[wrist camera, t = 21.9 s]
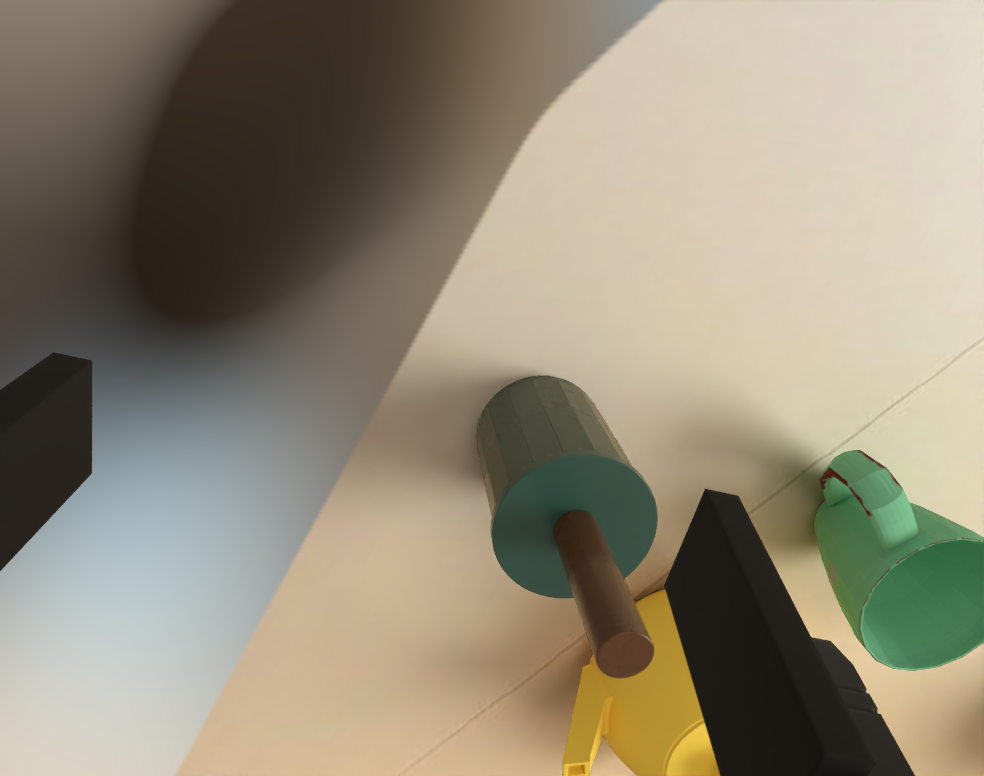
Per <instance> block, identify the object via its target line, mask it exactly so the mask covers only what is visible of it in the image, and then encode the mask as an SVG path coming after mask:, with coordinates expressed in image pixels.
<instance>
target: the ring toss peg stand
mask: <svg viewBox="0 0 984 776" xmlns="http://www.w3.org/2000/svg"><path fill="white" fill-rule="evenodd" d="M657 518H658V516H657V507H656V502H655V499H654V496H653V494H652V491H651V490H650V488H649V486H648V485H647V483H646V481H645V480H644V478H643V477H642V476H641V475H640V473H639V472H638V471H637V470H636V469H635V468H633V467H632V466H631V465H630V464H628V463H627V462H625V461H624V460H622V459H620V458H618V457H616V456H614V455H611V454H608V453H604V452H600V451H594V450H569V451H564V452H559V453H556V454H552V455H549V456H547V457H544V458H542V459H540V460H538V461H536V462H534V463H532V464H531V465H529V466H527V467H526V468H525V469H524V470H522V471H521V472H520V473H518V474H517V475H516V476H515V477H514V478H513V479H512V480H511V481H510V482H509V484H508V485H507V486H506V488H505V489H504V490H503V492H502V494H501V495H500V497H499V499H498V501H497V503H496V506H495V508H494V512H493V515H492V521H491V538H492V543H493V548H494V552H495V555H496V558H497V560H498V562H499V564H500V565H501V567H502V569H503V570H504V571H505V572H506V574H507V575H508V576H509V577H510V578H511V579H512V580H513V581H515V582H516V583H517V584H519V585H520V586H521V587H523V588H525V589H527V590H529V591H531V592H534V593H536V594H539V595H543V596H547V597H554V598H574V599H575V602H576V605H577V608H578V611H579V614H580V617H581V620H582V623H583V625H584V628H585V631H586V634H587V637H588V640H589V643H590V646H591V649H592V652H593V655H594V658H595V661H596V664H597V666H598V668H599V669H600V670H601V671H602V672H603V673H604V674H605V675H607V676H610V677H613V678H628V677H632V676H635V675H637V674H639V673H640V672H642V671H643V670H645V669H646V668H647V667H648V666H649V664H650V663H651V661H652V659H653V656H654V645H653V642H652V640H651V638H650V636H649V633H648V631H647V629H646V627H645V625H644V622H643V620H642V618H641V616H640V614H639V611H638V609H637V607H636V605H635V602H634V600H633V598H632V596H631V594H630V591H629V589H628V587H627V585H626V583H625V580H624V578H625V577H627V576H628V575H629V574H630V573H631V572H632V571H634V570H635V569H636V567H637V566H638V565H639V564H640V563H641V562H642V560H643V559H644V557H645V556H646V555H647V553H648V551H649V549H650V547H651V545H652V543H653V540H654V537H655V533H656V529H657Z"/></svg>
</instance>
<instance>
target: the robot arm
mask: <svg viewBox="0 0 984 776" xmlns="http://www.w3.org/2000/svg"><path fill="white" fill-rule="evenodd" d="M91 474H92V361H91V360H86V359H82V358H77V357H72V356H67V355H63V354H58V353H52V354H51V355H49V356H48V357H46V358H45V359H43V360H42V361H41V362H39V363H38V364H36V365H35V366H34V367H32V368H31V369H29V370H28V371H27V372H25V373H24V374H22V375H21V376H19V377H18V378H17V379H15V380H14V381H12V382H11V383H10V384H8V385H7V386H5V387H4V388H2V389H1V390H0V571H1V570H2V569H3V568H4V567H5V565H6V564H7V563H8V562H9V561H10V560H11V559H12V558H13V557H14V556H15V555H16V554H17V553H18V552H19V550H21V548H22V547H23V546H24V545H25V544H26V543H27V542H28V541H29V540H30V539H31V538H32V537H33V536H34V535H35V533H36V532H37V531H38V530H39V529H40V528H41V527H42V526H43V525H44V524H45V523H46V522H47V521H48V520H49V519H50V517H51V516H52V515H53V514H54V513H55V512H56V511H57V510H58V509H59V508H60V507H61V506H62V505H63V504H64V503H65V501H66V500H67V499H68V498H69V497H70V496H71V495H72V494H73V493H74V492H75V491H76V490H77V489H78V488H79V487H80V485H81V484H82V483H83V482H84V481H85V480H86V479H87V478H88V477H89V476H90V475H91ZM664 587H665V590H666V593H667V597H668V600H669V604H670V607H671V610H672V614H673V617H674V621H675V624H676V627H677V631H678V634H679V637H680V641H681V644H682V648H683V651H684V654H685V658H686V661H687V665H688V668H689V671H690V675H691V678H692V681H693V685H694V688H695V692H696V695H697V698H698V702H699V705H700V709H701V712H702V715H703V719H704V722H705V725H706V729H707V732H708V736H709V739H710V742H711V746H712V749H713V753H714V756H715V759H716V763H717V766H718V769H719V773H720V776H915V775H914V773H913V771H912V770H911V768H910V766H909V764H908V762H907V761H906V759H905V757H904V755H903V753H902V752H901V750H900V748H899V746H898V745H897V743H896V741H895V739H894V737H893V736H892V734H891V732H890V730H889V728H888V727H887V725H886V723H885V721H884V719H883V718H882V716H881V714H878V713H877V707H876V705H875V703H874V702H873V700H872V698H871V696H870V694H868V693H866V687H865V685H864V684H863V682H862V680H861V678H860V676H859V675H858V673H857V671H856V669H855V668H854V666H853V664H852V663H851V662H850V661H849V660H848V659H847V658H846V657H845V656H844V655H843V654H842V653H841V652H840V651H839V650H838V648H837V647H836V646H835V645H834V644H833V643H832V642H831V641H827V640H822V639H817V638H812V637H811V636H810V634H809V632H808V630H807V628H806V627H805V625H804V623H803V621H802V619H801V617H800V615H799V613H798V611H797V609H796V607H795V605H794V603H793V601H792V599H791V597H790V595H789V593H788V592H787V590H786V588H785V586H784V584H783V582H782V580H781V578H780V576H779V574H778V572H777V570H776V568H775V566H774V564H773V562H772V560H771V558H770V557H769V555H768V553H767V551H766V549H765V547H764V545H763V543H762V541H761V539H760V537H759V535H758V533H757V531H756V529H755V527H754V525H753V523H752V522H751V520H750V518H749V516H748V514H747V512H746V510H745V508H744V506H743V504H742V502H741V500H740V498H739V496H737V495H732V494H727V493H722V492H717V491H713V490H708V489H705V491H704V493H703V495H702V498H701V500H700V502H699V505H698V507H697V509H696V512H695V514H694V517H693V519H692V521H691V524H690V526H689V528H688V531H687V533H686V535H685V538H684V540H683V543H682V545H681V547H680V550H679V552H678V554H677V557H676V559H675V561H674V564H673V566H672V569H671V571H670V573H669V576H668V578H667V580H666V583H665V585H664Z"/></svg>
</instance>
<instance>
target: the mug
mask: <svg viewBox="0 0 984 776" xmlns="http://www.w3.org/2000/svg"><path fill="white" fill-rule="evenodd" d="M819 479H820V482H821V486H822V490H823V493H824V497H825V501H824V502H823V503H822V505H821V506H820V507H819V509H818V511H817V513H816V515H815V520H814V528H815V533H816V537H817V542H818V546H819V550H820V554H821V557H822V560H823V563H824V566H825V569H826V572H827V575H828V578H829V581H830V583H831V586H832V588H833V591H834V593H835V595H836V598H837V600H838V602H839V605H840V607H841V609H842V611H843V613H844V615H845V616H846V618H847V620H848V622H849V624H850V626H851V628H852V630H853V632H854V634H855V636H856V637H857V639H858V640H859V641H860V643H861V644H862V645H863V646H864V647H865V649H866V650H867V651H868V652H869V653H870V654H871V655H872V657H873V658H874V659H875V660H876V661H878V662H880V663H882V664H884V665H887V666H889V667H891V668H893V669H902V670H911V671H917V670H923V669H929V668H935V667H940V666H942V665H945V664H947V663H949V662H952V661H954V660H957V659H959V658H962V657H963V656H965V655H966V654H968V653H969V652H971V651H972V650H974V649H975V648H977V647H978V646H980V645H981V644H983V642H984V537H982V536H980V535H978V534H977V533H975V532H973V531H971V530H969V529H967V528H965V527H963V526H961V525H959V524H957V523H955V522H953V521H951V520H949V519H946V518H944V517H942V516H940V515H938V514H936V513H934V512H932V511H929V510H927V509H925V508H923V507H921V506H918V505H916V504H913V503H910V502H908V499H907V497H906V495H905V493H904V490H903V488H902V487H901V486H900V484H899V483H898V482H897V481H896V479H895V478H894V477H893V475H892V474H891V473H890V472H889V470H888V469H887V468H886V467H884V466H883V465H881V464H880V463H878V462H877V461H875V460H874V459H872V458H871V457H869V456H868V455H866V454H865V453H863V452H862V451H861V450H854V451H848V452H844V453H842V454H840V455H839V456H837V457H835V458H834V459H833V461H832V462H831V463H830V464H829V465H828V466H827V467H826V468H825V469H824V471H823V472H822V473H821V474H820V477H819Z"/></svg>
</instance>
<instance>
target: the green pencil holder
mask: <svg viewBox="0 0 984 776" xmlns="http://www.w3.org/2000/svg"><path fill="white" fill-rule="evenodd" d="M477 450H478V455H479V459H480V464H481V469H482V473H483V478H484V482H485V487H486V492H487V496H488V501H489V506H490V510H491V515H493V512H494V508H495V506H496V503H497V501H498V499H499V497H500V495H501V494H502V492H503V490H504V489H505V488H506V486H507V485H508V484H509V482H510V481H511V480H512V479H513V478H514V477H515V476H516V475H517V474H518V473H520V472H521V471H522V470H524V469H525V468H526V467H527V466H529V465H531V464H532V463H534V462H536V461H538V460H540V459H542V458H544V457H547V456H549V455H552V454H556V453H559V452H564V451H569V450H594V451H600V452H604V453H608V454H611V455H614V456H616V457H618V458H620V459H622V460H624V461H625V462H627V463H628V464H630V465H631V463H630V462H629V460H628V459H627V457H626V455H625V454H624V452H623V450H622V449H621V447H620V445H619V444H618V442H617V440H616V439H615V437H614V435H613V434H612V432H611V430H610V429H609V427H608V425H607V424H606V422H605V420H604V419H603V417H602V415H601V414H600V412H599V411H598V409H597V407H596V406H595V404H594V403H593V402H592V401H591V400H590V398H589V397H588V396H587V395H586V393H585V392H583V391H582V390H581V389H580V388H579V387H577V386H576V385H574V384H573V383H570V382H568V381H566V380H563V379H560V378H556V377H550V376H537V377H530V378H525V379H522V380H519V381H517V382H514V383H512V384H510V385H508V386H507V387H505V388H504V389H502V390H501V391H500V392H499V393H497V394H496V395H495V396H494V397H493V398H492V399H491V400H490V402H489V403H488V404H487V406H486V407H485V409H484V411H483V413H482V415H481V417H480V420H479V424H478V428H477ZM631 466H632V465H631Z"/></svg>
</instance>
